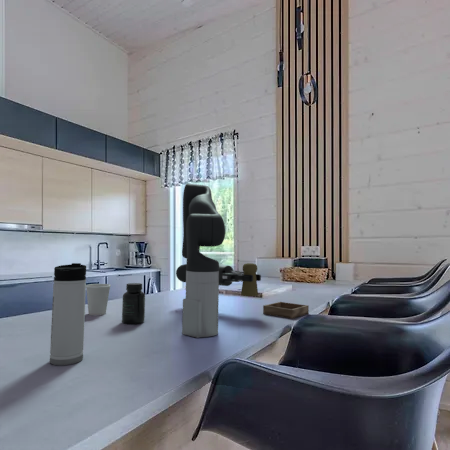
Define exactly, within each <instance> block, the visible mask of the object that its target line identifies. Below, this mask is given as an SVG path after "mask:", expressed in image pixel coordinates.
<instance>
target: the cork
mask: <svg viewBox="0 0 450 450" xmlns="http://www.w3.org/2000/svg"><path fill="white" fill-rule="evenodd" d="M242 272H244V275H253V281H252V282H249V281H242V283H241V284H242V285H241V291H240V295H241V296H243V297H244V296H245V297H259V288H258V283H257V282H258V281H257V280H256V274H257V272H258V265H257V264H255V263H252V262H247V263H244V264H242Z"/></svg>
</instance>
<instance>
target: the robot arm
mask: <svg viewBox="0 0 450 450" xmlns="http://www.w3.org/2000/svg"><path fill="white" fill-rule="evenodd" d="M212 195H213V194H212V191H211V188H210V186H208V185H205V184H199V183H198V184H197V183H196V184H195V183H186V184H185V186H184V188H183V194H182V224H183V225H182V227H183V229H182V230H183V233H182V235H183V236H182V239H183V240H182V248H181V249H182V250H181V254H182V255H181V256H182V257H183V258H184V259H186V263H185V264H181V265H179V266H178V267H177V268H176V271H175V275H176V278H177V279H178V281H180V282H182V283H185V298H183V299H182V321H181V322H182V323H181V324H182V325H181V327H182V328H181V333H182V335H185V336H188V337H193V338H196V339H197V338H207V337H213V336H217V335H218V334H219V297H220V295H219V292H220V290H219V286H224V287H229V286H230V285H233V283H241V282H242V283H243V281H249V282H252V281H253V275H244V272H243V271H240V270H234V269H233V267H232V266H230V265H228V264H227V265H226V264H224V265H223V264H222V265H221V264H220V263H219V261H218V260H216V259H214V258H210V257H209V256H206V255H205V254H203V253H201V251H200V250H201V247H209V248H211V247H218V246H221V245H222V243H224V241H225V238H226V226H225V222H224V219H223V217H222V215H221V214H220V213H219V212H218V210H217V207H216V204H215V202H214V200H213V197H212ZM261 278H262V275H261V274H260V273H258V274H257V273H256V280H257V282H261V280H262V279H261Z"/></svg>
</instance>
